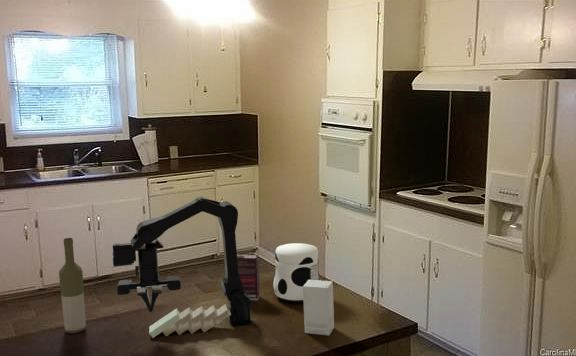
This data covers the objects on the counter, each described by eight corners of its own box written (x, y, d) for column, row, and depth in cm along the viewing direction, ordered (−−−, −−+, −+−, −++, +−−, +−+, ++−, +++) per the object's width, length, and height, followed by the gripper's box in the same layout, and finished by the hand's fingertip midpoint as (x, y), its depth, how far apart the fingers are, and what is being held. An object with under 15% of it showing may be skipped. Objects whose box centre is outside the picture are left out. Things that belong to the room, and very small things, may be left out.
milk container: (271, 289, 211) (270, 243, 208) (316, 287, 213) (316, 241, 210) (275, 307, 194) (274, 257, 191) (324, 304, 196) (324, 254, 193)
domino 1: (153, 331, 176) (180, 313, 177) (152, 338, 171) (180, 319, 172) (149, 326, 176) (176, 308, 177) (149, 333, 171) (176, 314, 172)
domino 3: (178, 328, 178) (205, 310, 179) (179, 335, 173) (206, 316, 174) (175, 323, 177) (201, 305, 178) (175, 330, 172) (202, 311, 173)
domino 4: (190, 327, 179) (217, 309, 180) (191, 333, 174) (218, 315, 175) (187, 322, 178) (213, 304, 179) (187, 329, 173) (215, 310, 174)
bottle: (76, 336, 173) (69, 242, 168) (58, 333, 176) (50, 241, 171) (91, 327, 180) (84, 237, 175) (74, 324, 182) (67, 235, 177)
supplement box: (259, 296, 205) (258, 254, 202) (257, 300, 200) (256, 258, 197) (236, 295, 206) (235, 253, 203) (234, 300, 201) (232, 257, 198)
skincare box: (334, 328, 176) (334, 280, 174) (329, 337, 170) (329, 288, 168) (309, 324, 179) (308, 278, 177) (302, 333, 173) (302, 285, 170)
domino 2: (166, 329, 177) (192, 311, 178) (166, 336, 172) (193, 317, 173) (162, 325, 176) (189, 306, 177) (162, 331, 172) (190, 313, 173)
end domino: (202, 326, 179) (229, 308, 180) (204, 332, 175) (231, 314, 176) (199, 321, 179) (225, 303, 180) (200, 327, 174) (227, 309, 175)
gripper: (178, 253, 180) (181, 299, 182) (118, 257, 176) (121, 304, 178) (179, 263, 169) (181, 312, 172) (115, 268, 165) (118, 318, 168)
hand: (151, 311), depth 173 cm, fingers closed
